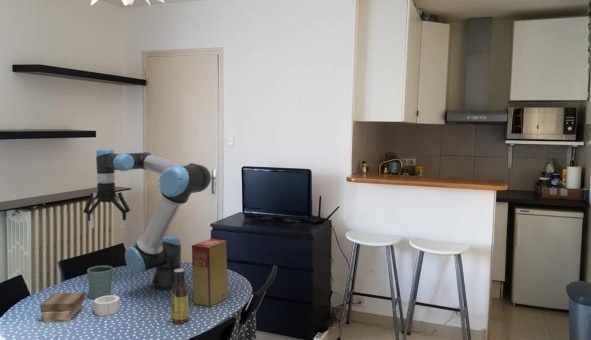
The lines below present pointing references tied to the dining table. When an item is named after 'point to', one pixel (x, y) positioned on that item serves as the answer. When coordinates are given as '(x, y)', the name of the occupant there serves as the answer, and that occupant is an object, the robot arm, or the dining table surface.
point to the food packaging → (209, 272)
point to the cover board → (62, 302)
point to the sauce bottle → (179, 297)
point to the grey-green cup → (100, 281)
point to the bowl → (106, 305)
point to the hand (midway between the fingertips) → (107, 227)
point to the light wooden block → (60, 315)
